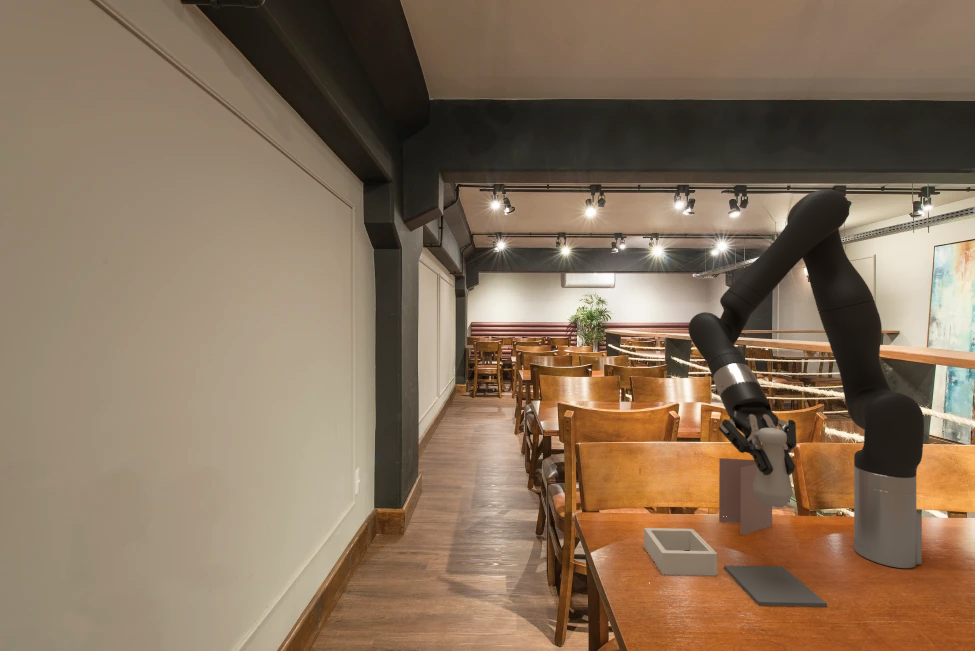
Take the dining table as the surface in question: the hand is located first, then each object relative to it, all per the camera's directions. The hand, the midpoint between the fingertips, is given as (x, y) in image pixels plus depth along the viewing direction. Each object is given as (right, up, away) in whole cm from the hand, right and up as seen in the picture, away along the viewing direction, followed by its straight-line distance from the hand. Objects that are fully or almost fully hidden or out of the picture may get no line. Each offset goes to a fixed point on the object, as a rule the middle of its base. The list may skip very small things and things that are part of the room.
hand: (779, 472), depth 75 cm
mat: (0, -21, +2) cm, 21 cm away
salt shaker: (0, -6, +2) cm, 6 cm away
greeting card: (+9, -21, +24) cm, 33 cm away
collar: (-13, -21, +10) cm, 26 cm away
